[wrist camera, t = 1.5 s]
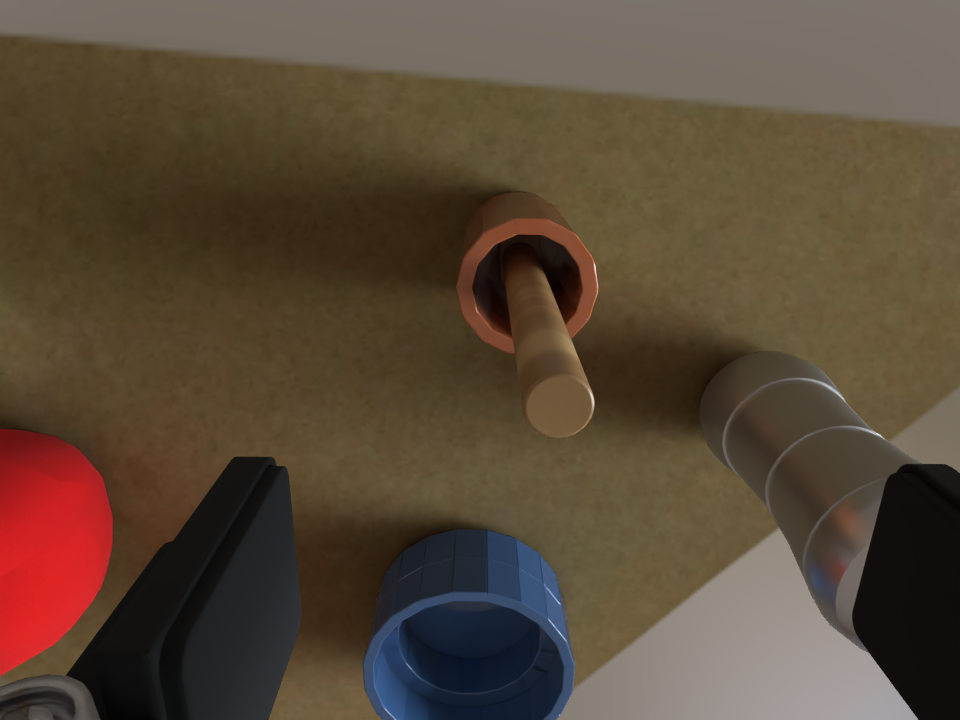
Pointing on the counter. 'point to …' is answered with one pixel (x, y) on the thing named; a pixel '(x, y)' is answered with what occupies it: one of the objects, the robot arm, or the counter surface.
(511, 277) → the stirring stick
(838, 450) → the silver metal bottle
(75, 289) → the counter surface
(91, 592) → the tomato
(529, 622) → the bowl
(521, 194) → the crock
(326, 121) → the counter surface
